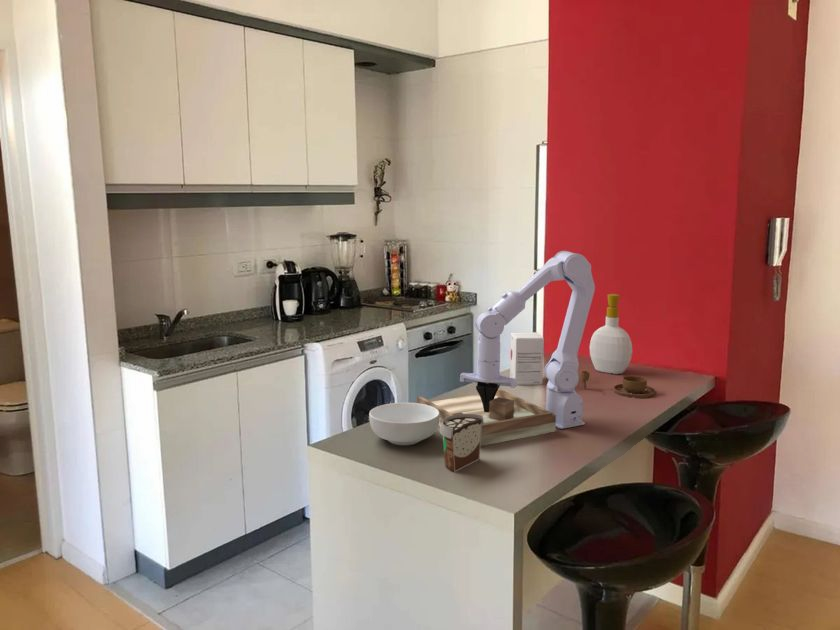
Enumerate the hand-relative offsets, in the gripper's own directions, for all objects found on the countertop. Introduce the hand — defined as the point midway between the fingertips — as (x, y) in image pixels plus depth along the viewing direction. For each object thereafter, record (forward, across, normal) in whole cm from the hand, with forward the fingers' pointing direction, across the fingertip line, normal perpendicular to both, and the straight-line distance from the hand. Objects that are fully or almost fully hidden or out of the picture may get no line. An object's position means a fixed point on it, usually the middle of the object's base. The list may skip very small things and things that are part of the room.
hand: (487, 411), depth 178 cm
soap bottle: (+4, -22, -67) cm, 70 cm away
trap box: (+3, +2, -1) cm, 4 cm away
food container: (+4, -1, +27) cm, 28 cm away
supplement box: (+4, +1, -44) cm, 44 cm away
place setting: (+4, -28, -46) cm, 54 cm away
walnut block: (+1, -4, +1) cm, 4 cm away
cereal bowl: (+4, +15, +19) cm, 24 cm away
